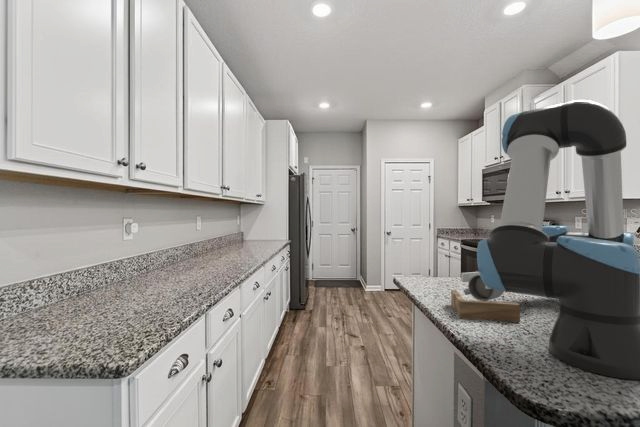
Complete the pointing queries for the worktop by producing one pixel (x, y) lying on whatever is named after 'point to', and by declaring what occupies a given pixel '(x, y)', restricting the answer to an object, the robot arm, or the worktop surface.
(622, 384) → the worktop surface
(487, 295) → the ceramic mug
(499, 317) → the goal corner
